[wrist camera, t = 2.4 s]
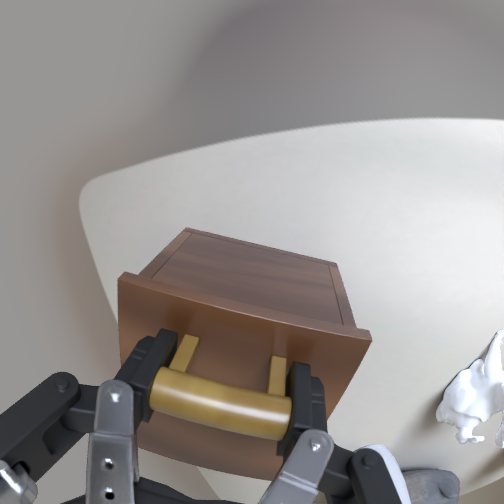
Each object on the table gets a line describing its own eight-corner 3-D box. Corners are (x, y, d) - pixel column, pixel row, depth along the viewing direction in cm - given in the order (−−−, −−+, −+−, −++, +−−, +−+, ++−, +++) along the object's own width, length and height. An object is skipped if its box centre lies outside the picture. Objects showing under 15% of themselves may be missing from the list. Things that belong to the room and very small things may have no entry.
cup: (343, 441, 31) (349, 512, 21) (406, 433, 30) (422, 499, 20) (335, 470, 34) (337, 531, 24) (390, 464, 32) (400, 521, 23)
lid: (125, 270, 14) (64, 330, 9) (369, 329, 13) (394, 411, 9) (134, 437, 19) (111, 487, 14) (284, 474, 19) (279, 529, 14)
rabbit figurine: (501, 326, 23) (546, 386, 14) (521, 352, 24) (558, 406, 15) (421, 402, 27) (443, 471, 18) (451, 418, 28) (472, 477, 19)
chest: (186, 227, 23) (125, 286, 14) (336, 263, 23) (362, 344, 14) (172, 359, 28) (134, 436, 19) (288, 388, 28) (284, 473, 19)
